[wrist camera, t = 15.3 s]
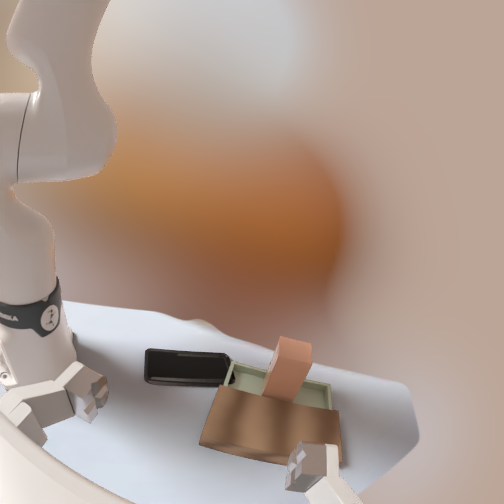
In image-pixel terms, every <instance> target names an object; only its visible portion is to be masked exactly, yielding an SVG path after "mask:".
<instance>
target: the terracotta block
mask: <svg viewBox="0 0 504 504" xmlns="http://www.w3.org/2000/svg"><path fill="white" fill-rule="evenodd" d="M311 366H312V345H311V344H310V343H306V342H302V341H297V340H294V339H290V338H285V337H282V336H281V337H280V339H279V342H278V345H277V347H276V350H275V352H274V355H273V358H272V360H271V363H270V365H269V368H268V371H267V373H266V376H265V378H264V381H263V387H262V392H261V396H264V397H268V398H273V399H277V400H281V401H286V402H291V403H293V401H294V399H295V397H296V395H297V393H298V391H299V389H300V387H301V386H302V384H303V382H304V380H305V378H306V376H307V374H308V372H309V370H310V368H311Z"/></svg>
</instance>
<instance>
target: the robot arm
mask: <svg viewBox="0 0 504 504" xmlns="http://www.w3.org/2000/svg"><path fill="white" fill-rule="evenodd" d="M109 2H110V0H20V1H19V3H18V6H17V8H16V10H15V13H14V15H13V18H12V20H11V23H10V25H9V28H8V31H7V35H6V45H7V48H8V50H9V52H10V53H11V54H12V56H14V57H15V58H16V59H17V60H18V61H20V62H21V63H23V64H24V65H26V66H27V67H29V68H30V69H32V70H33V71H34V72H35V73H36V75H37V77H38V81H39V89H38V90H37V91H36V92H32V93H0V383H1V384H2V386H3V387H4V388H5V389H6V390H9V391H8V392H7V393H5V394H4V395H3V396H2V397H1V398H0V504H135V503H133V502H131V501H129V500H127V499H125V498H122V497H120V496H118V495H116V494H114V493H112V492H110V491H108V490H107V489H105V488H103V487H101V486H99V485H97V484H96V483H94V482H92V481H90V480H89V479H87V478H85V477H84V476H82V475H80V474H79V473H77V472H76V471H74V470H72V469H71V468H69V467H68V466H66V465H65V464H63V463H62V462H61V461H59V460H58V459H56V458H55V457H53V456H52V455H51V454H49V453H48V452H47V451H45V450H44V449H43V448H42V446H43V445H44V444H45V442H46V441H47V440H48V439H47V436H46V434H45V432H44V431H43V429H42V428H45V427H47V426H50V425H52V424H55V423H58V422H60V421H63V420H65V419H68V418H70V417H73V416H75V415H76V416H78V417H80V418H81V419H83V420H85V421H87V422H88V423H91V422H92V421H93V419H94V418H95V417H96V415H97V414H98V412H97V409H98V408H102V407H103V406H104V405H105V403H106V401H107V399H108V394H109V392H108V388H107V387H106V385H105V384H106V383H107V380H106V377H105V376H103V375H101V374H99V373H97V372H96V371H94V370H92V369H90V368H88V367H87V366H85V365H83V364H82V363H80V362H78V361H77V354H76V350H75V348H74V346H73V343H72V339H73V333H72V329H71V328H70V327H69V326H68V324H67V320H66V316H65V312H64V308H63V303H62V301H61V288H60V285H59V279H58V277H57V276H56V266H55V237H54V232H53V228H52V226H51V224H50V223H49V221H48V220H47V219H46V218H45V217H44V216H43V215H41V214H40V213H39V212H37V211H35V210H34V209H32V208H30V207H28V206H26V205H24V204H22V203H21V202H20V201H19V200H18V199H17V198H16V196H15V194H14V191H13V185H14V184H16V183H18V182H53V181H54V182H56V181H68V180H74V179H79V178H84V177H88V176H93V175H96V174H98V173H99V172H100V171H101V170H102V168H103V167H104V166H105V165H106V164H107V162H108V161H109V159H110V157H111V156H112V153H113V151H114V148H115V145H116V140H117V125H116V119H115V116H114V114H113V112H112V110H111V108H110V107H109V105H108V104H107V103H106V102H105V101H104V99H103V98H102V96H101V95H100V93H99V91H98V90H97V87H96V85H95V82H94V79H93V75H92V67H91V55H92V48H93V43H94V39H95V36H96V33H97V30H98V27H99V24H100V22H101V19H102V17H103V15H104V12H105V10H106V8H107V6H108V4H109ZM287 469H288V471H289V472H290V473H289V475H288V476H287V477H286V483H285V490H288V491H296V492H304V494H305V496H306V498H307V499H308V501H309V503H310V504H364V503H363V502H362V501H361V500H360V499H359V497H358V496H357V495H356V494H355V492H354V491H353V490H352V489H351V487H350V486H349V485H348V483H347V482H346V481H345V480H344V478H342V477H340V474H339V456H338V447H337V445H333V444H324V443H316V442H308V441H300V442H299V443H298V444H297V449H294V450H293V451H292V452H291V454H290V457H289V459H288V464H287Z"/></svg>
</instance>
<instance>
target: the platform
mask: <svg viewBox="0 0 504 504" xmlns="http://www.w3.org/2000/svg"><path fill="white" fill-rule="evenodd" d="M300 441H308V442H316V443H324V444H333V445H337V447H338V456H339V464H340V463H341V462H342V448H341V435H340V424H339V413H338V411H336V410H329V409H323V408H317V407H311V406H306V405H301V404H296V403H291V402H286V401H281V400H277V399H273V398H268V397H264V396H260V395H256V394H252V393H248V392H245V391H241V390H237V389H234V388H230V387H227V386H224V385H219V388H218V390H217V393H216V396H215V399H214V401H213V404H212V407H211V410H210V412H209V415H208V418H207V420H206V423H205V426H204V428H203V431H202V434H201V438H200V442H199V445H201V446H204V447H208V448H211V449H214V450H218V451H221V452H225V453H229V454H233V455H237V456H241V457H245V458H250V459H254V460H259V461H264V462H269V463H275V464H281V465H287V464H288V459H289V457H290V454H291V452H292V451H293V450H294V449H297V444H298V443H299V442H300Z"/></svg>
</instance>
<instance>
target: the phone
mask: <svg viewBox="0 0 504 504" xmlns="http://www.w3.org/2000/svg"><path fill="white" fill-rule="evenodd" d="M230 364H231V362H230V359H229V356H228V355H227V354H225V353H211V352H191V351H176V350H164V349H153V348H149V349H147V350H146V351H145V367H144V379H145V381H146V382H148V383H151V384H163V385H179V386H210V387H219V385H224V382H225V379H226V376H227V373H228V370H229V367H230ZM235 380H236V379H235V376H234V372H233V370H232V374H231V377H230V380H229V383H228V384H233V383H235Z"/></svg>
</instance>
